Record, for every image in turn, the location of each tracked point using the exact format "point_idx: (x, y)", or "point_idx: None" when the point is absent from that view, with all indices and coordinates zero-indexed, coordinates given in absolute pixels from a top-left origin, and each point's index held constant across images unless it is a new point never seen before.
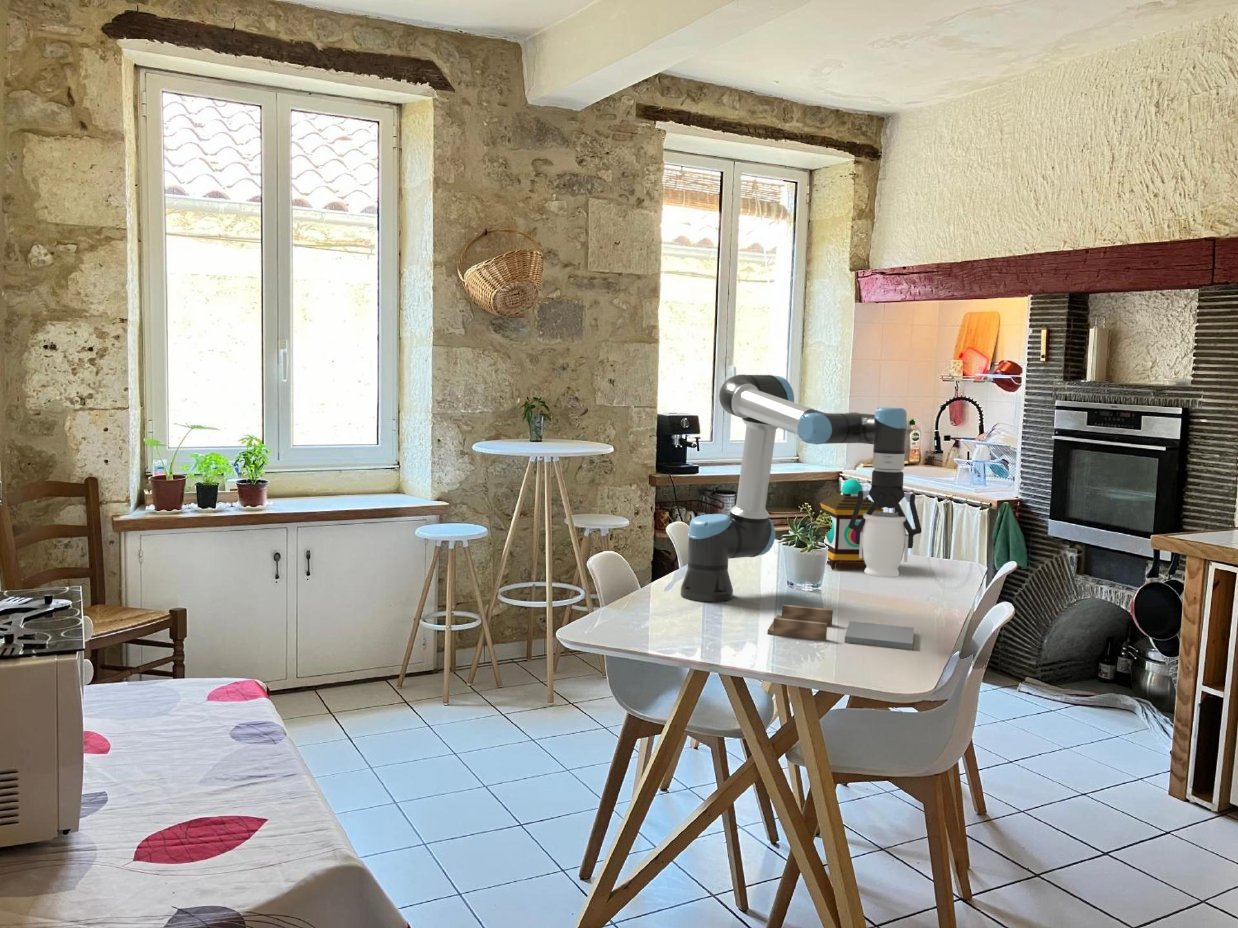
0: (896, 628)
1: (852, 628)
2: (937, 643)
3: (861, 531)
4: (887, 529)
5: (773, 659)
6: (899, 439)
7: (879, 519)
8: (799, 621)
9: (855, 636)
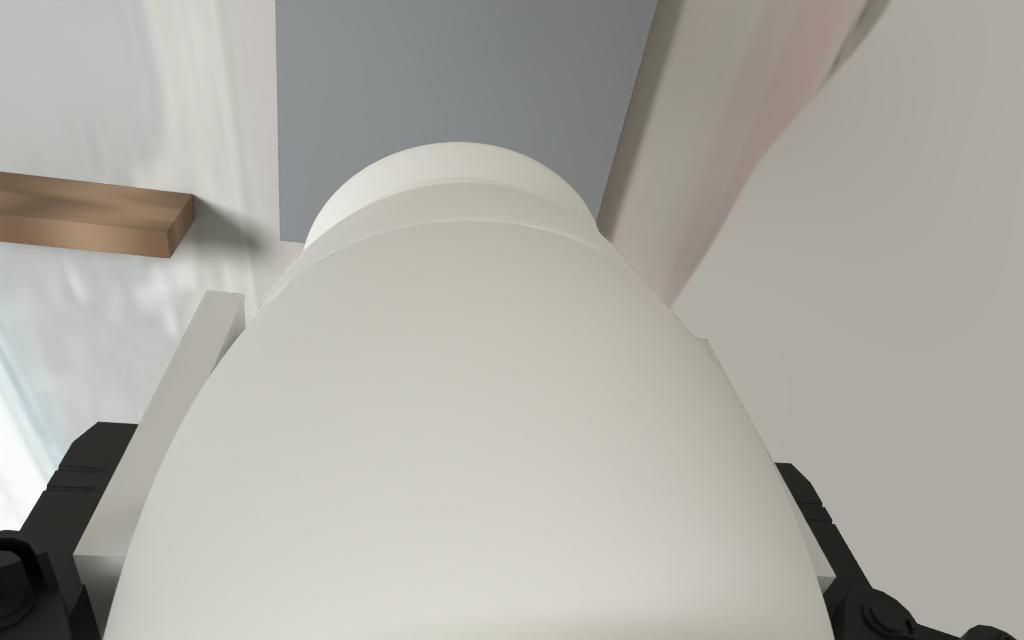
0: (560, 4)
1: (305, 77)
2: (722, 129)
3: (102, 605)
4: None
5: None
6: None
7: None
8: (10, 238)
9: None
